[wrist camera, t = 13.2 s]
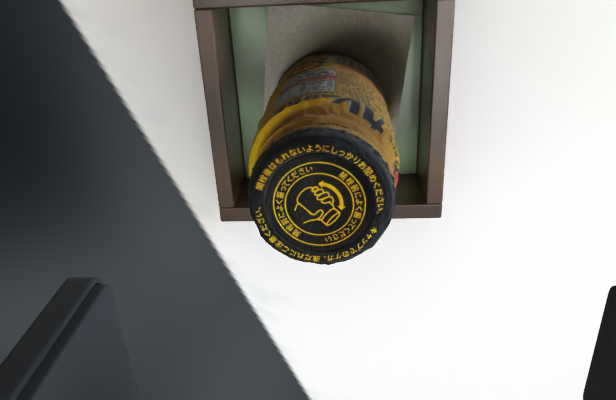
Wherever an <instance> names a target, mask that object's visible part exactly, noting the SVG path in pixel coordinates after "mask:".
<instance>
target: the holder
mask: <svg viewBox="0 0 616 400" xmlns="http://www.w3.org/2000/svg"><path fill="white" fill-rule="evenodd" d="M288 5H306V6H317V7H331V8H340V9H351V10H363V11H369V12H382V13H392V14H398V15H410V16H415V18H414V24H413V31H412V37H411V43H410V48H409V55H408V61H407V68H406V73H405V79H404V87H403V92H402V98H401V104H400V110H399V116H398V122H397V128H396V135H395V141H396V145H397V148H398V152H399V161H400V166H399V167H400V169H399V173H398V182H397V185H396V188H395V190H396V194H397V195H396V197H395V199H394V200H395V209H394V211H393V214H392V218H391V219H393V218H441V213H442V198H443V182H444V167H445V151H446V136H447V120H448V105H449V89H450V74H451V58H452V43H453V27H454V12H455V0H193V6H194V9H196V10H194V15H195V22H196V30H197V38H198V46H199V53H200V61H201V69H202V77H203V84H204V92H205V100H206V108H207V116H208V123H209V131H210V139H211V147H212V154H213V162H214V170H215V178H216V185H217V193H218V201H219V207H220V217H221V221H254V220H253V218H252V217H251V214H250V209H249V204H248V194H249V190H248V186H249V182H248V180H249V179H250V177H249V152H250V149H251V146H252V143H253V140H254V137H255V134H256V132H257V130H258V123H259V121H260V119H261V118H262V117H263V109H264V88H265V62H266V41H267V21H268V6H288Z"/></svg>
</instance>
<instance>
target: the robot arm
mask: <svg viewBox="0 0 616 400" xmlns="http://www.w3.org/2000/svg"><path fill="white" fill-rule="evenodd" d="M136 395H137V389H136V383H135V379H134V375H133V371H132V367H131V363H130V359H129V354H128V350H127V346H126V342H125V338H124V334H123V330H122V326H121V322H120V318H119V314H118V310H117V305H116V301H115V297H114V293H113V290H112V288H111V286H110V285H104V283H103V281H102V280H101V279H100V278H98V277H72V278H68V279H67V280H66V281H65V282H64V283H63V284H62V286H61V287H60V288H59V290H58V291H57V292H56V294H55V295H54V296H53V298H52V299H51V300H50V301H49V303H48V304H47V305H46V306H45V308H44V309H43V310H42V312H41V313H40V314H39V316H38V317H37V318H36V320H35V321H34V322H33V324H32V325H31V326H30V327H29V329H28V330H27V331H26V333H25V334H24V335H23V336H22V338H21V339H20V340H19V342H18V343H17V344H16V346H15V347H14V348H13V350H12V351H11V352H10V353H9V355H8V356H7V357H6V359H5V360H4V361H3V362H2V364H1V365H0V400H136ZM583 400H616V286H612V287H611V288H610V290H609V293H608V297H607V301H606V305H605V309H604V313H603V317H602V321H601V325H600V329H599V333H598V337H597V341H596V345H595V349H594V353H593V357H592V361H591V365H590V369H589V373H588V377H587V381H586V385H585V389H584V394H583Z"/></svg>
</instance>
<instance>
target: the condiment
mask: <svg viewBox="0 0 616 400" xmlns="http://www.w3.org/2000/svg"><path fill="white" fill-rule="evenodd" d="M414 18H415V16H410V15H398V14H392V13H382V12H369V11H363V10H351V9H340V8H331V7H317V6H306V5H288V6H268V21H267V41H266V62H265V88H264V109H263V117H262V118H261V119H260V121H259V123H258V130H257V132H256V134H255V137H254V140H253V143H252V146H251V149H250V152H249V177H250V179H249V180H248V182H249V186H248V190H249V194H248V204H249V209H250V214H251V217H252V218H253V220H254V222H255V224H256V225H257V227H258V229H259V232H260V235H261V237H262V238H263V239H264V240H265V241H266V242H267V243H268V244H269V245H271V246H272V247H273V248H274V249H276V250H278V251H279V252H281V253H283V254H284V255H286V256H288V257H290V258H292V259H295V260H299V261H302V262H311V263H316V264H327V265H330V264H334V263H336V262H343V261H346V260H349V259H352V258H354V257H355V256H357V255H359V254H361V253H363V252H364V251H366V250H367V249H370V248H372V247H373V246H374V245H375V243H376V242H377V241H378V239H379V238H380V237H381V235H382V234H383V233H384V231H385V230H386V228H387V227H388V225H389V224H390V221H391V218H392V214H393V211H394V209H395V200H394V199H395V197H396V195H397V194H396V190H395V188H396V185H397V182H398V173H399V169H400V167H399V166H400V161H399V152H398V148H397V145H396V141H395V135H396V128H397V122H398V116H399V110H400V104H401V98H402V92H403V87H404V79H405V73H406V68H407V61H408V55H409V48H410V43H411V37H412V31H413V24H414Z"/></svg>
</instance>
